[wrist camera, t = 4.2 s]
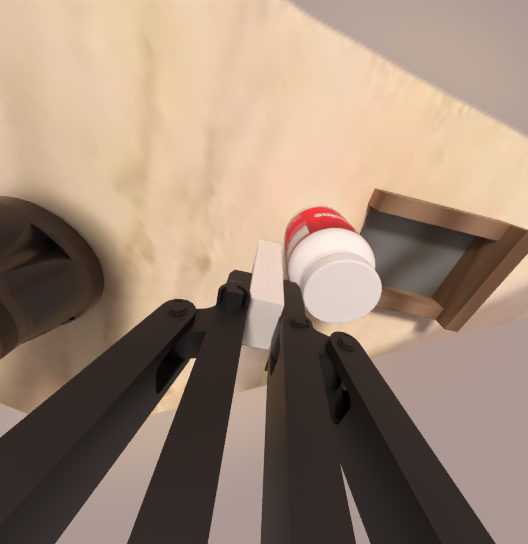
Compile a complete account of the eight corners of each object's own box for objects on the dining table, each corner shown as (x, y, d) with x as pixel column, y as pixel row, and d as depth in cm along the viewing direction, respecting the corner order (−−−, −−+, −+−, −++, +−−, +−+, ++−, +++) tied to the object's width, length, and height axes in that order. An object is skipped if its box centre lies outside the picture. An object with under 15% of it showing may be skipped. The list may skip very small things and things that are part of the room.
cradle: (331, 285, 26) (340, 306, 23) (375, 188, 21) (395, 196, 17) (434, 308, 27) (457, 331, 24) (501, 220, 22) (544, 235, 18)
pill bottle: (357, 226, 23) (419, 286, 13) (317, 269, 25) (343, 346, 16) (310, 189, 21) (339, 226, 12) (272, 240, 24) (270, 304, 14)
